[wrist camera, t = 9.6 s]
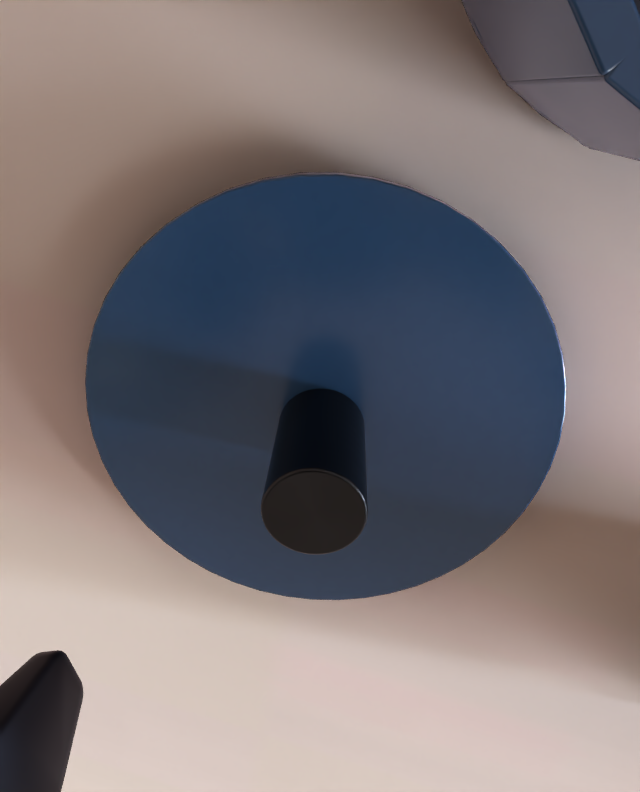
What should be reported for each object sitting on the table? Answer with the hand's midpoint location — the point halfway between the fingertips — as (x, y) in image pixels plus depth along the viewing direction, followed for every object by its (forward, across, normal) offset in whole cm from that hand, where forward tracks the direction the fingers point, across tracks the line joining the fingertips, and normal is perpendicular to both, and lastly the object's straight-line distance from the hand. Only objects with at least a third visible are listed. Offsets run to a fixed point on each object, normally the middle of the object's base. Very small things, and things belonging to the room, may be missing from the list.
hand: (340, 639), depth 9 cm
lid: (+9, +1, +1) cm, 9 cm away
